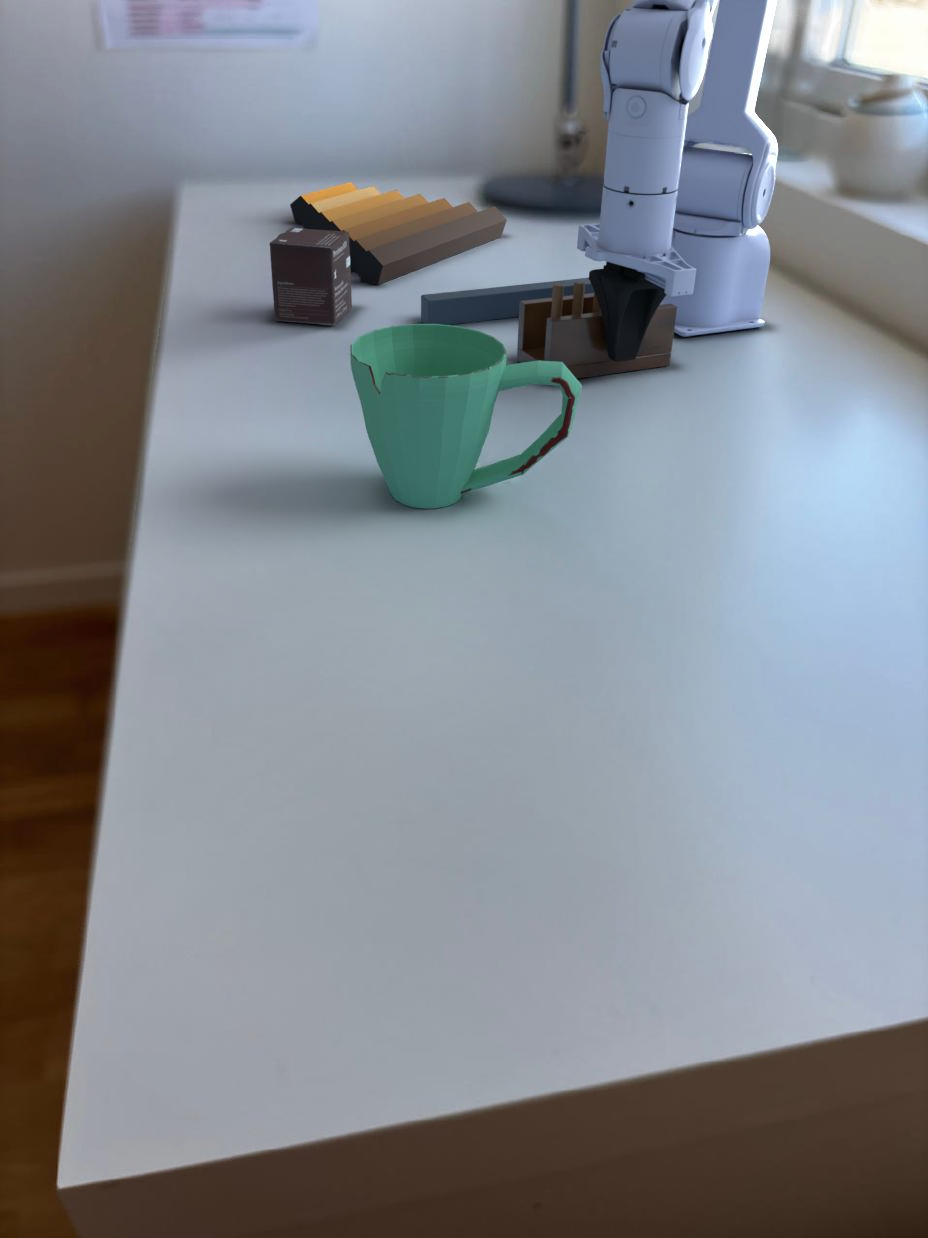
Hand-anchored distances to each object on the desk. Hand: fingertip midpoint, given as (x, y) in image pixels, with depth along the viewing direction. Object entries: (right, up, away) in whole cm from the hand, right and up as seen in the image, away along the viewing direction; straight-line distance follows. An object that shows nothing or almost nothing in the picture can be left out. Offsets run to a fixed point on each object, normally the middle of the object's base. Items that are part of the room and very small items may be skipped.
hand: (621, 358), depth 91 cm
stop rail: (-8, +8, +16) cm, 19 cm away
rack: (-2, +1, +4) cm, 5 cm away
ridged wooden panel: (-25, +22, +37) cm, 50 cm away
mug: (-13, -14, -17) cm, 26 cm away
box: (-28, +7, +14) cm, 32 cm away
